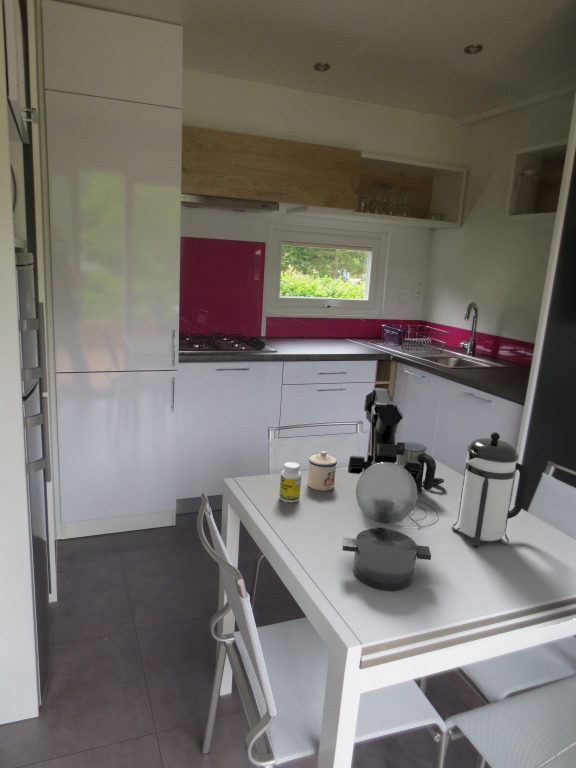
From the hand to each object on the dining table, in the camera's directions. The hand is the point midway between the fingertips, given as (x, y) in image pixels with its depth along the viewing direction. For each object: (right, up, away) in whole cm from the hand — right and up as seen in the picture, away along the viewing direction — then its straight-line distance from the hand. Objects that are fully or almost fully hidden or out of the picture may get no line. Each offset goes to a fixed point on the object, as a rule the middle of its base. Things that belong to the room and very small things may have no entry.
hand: (383, 498), depth 138 cm
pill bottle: (-24, -6, +26) cm, 36 cm away
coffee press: (+29, -13, +11) cm, 34 cm away
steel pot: (-2, -15, -12) cm, 19 cm away
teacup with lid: (-13, -4, +39) cm, 41 cm away
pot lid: (0, +2, -6) cm, 6 cm away
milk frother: (+19, -5, +42) cm, 46 cm away
